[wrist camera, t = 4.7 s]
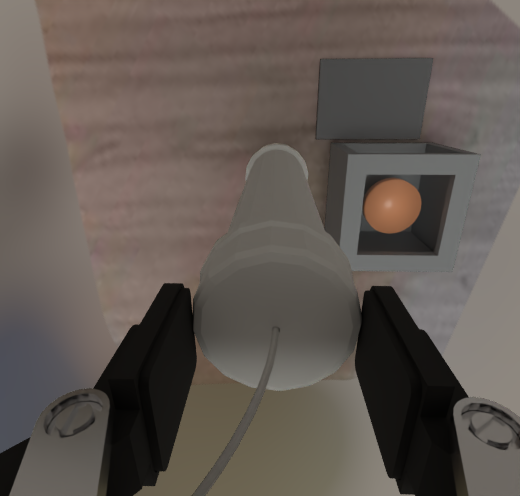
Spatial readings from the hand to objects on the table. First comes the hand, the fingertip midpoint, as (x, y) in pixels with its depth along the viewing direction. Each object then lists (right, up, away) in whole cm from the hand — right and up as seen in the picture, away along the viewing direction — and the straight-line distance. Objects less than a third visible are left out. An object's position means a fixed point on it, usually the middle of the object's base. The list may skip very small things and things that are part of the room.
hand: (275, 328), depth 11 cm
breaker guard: (+15, +10, +36) cm, 41 cm away
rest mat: (+13, +21, +32) cm, 40 cm away
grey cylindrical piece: (+1, +10, +22) cm, 24 cm away
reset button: (+15, +8, +32) cm, 36 cm away
